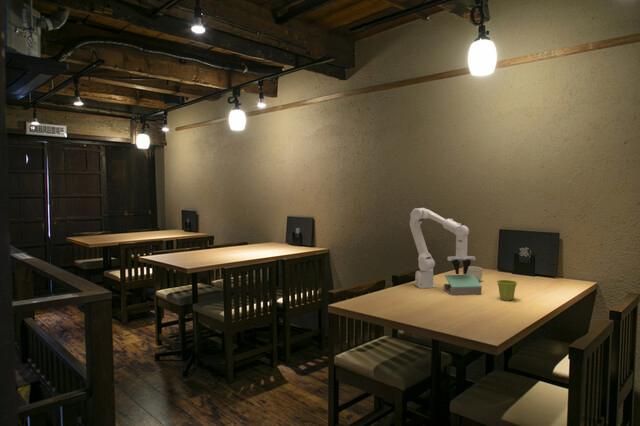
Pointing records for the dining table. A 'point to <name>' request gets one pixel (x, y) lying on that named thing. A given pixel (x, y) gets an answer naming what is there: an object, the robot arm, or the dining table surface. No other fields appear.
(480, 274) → the teacup
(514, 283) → the plant pot
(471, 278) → the lid
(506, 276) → the dining table surface
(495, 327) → the dining table surface
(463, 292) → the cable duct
